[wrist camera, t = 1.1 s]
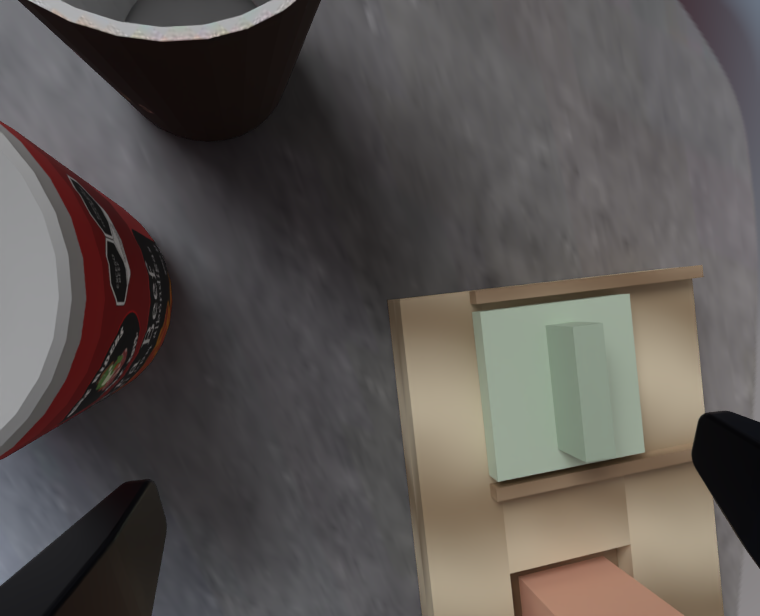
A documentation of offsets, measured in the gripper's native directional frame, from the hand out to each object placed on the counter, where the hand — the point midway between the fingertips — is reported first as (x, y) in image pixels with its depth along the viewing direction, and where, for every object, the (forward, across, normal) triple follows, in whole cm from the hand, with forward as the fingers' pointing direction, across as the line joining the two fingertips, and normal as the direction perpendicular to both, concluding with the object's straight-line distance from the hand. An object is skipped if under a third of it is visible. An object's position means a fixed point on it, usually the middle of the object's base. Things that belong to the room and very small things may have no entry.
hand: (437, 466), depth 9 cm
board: (+11, -7, +11) cm, 17 cm away
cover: (+11, -7, +6) cm, 14 cm away
